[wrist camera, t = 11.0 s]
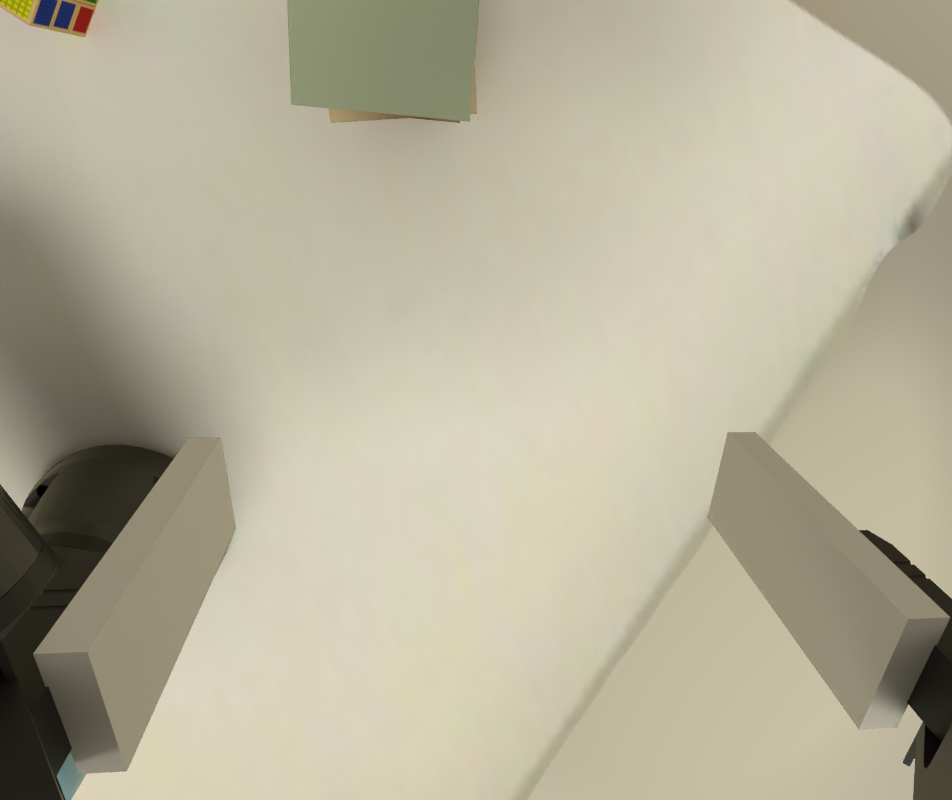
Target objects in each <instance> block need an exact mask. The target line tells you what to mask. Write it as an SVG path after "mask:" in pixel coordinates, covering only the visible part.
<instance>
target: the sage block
mask: <svg viewBox="0 0 952 800" xmlns="http://www.w3.org/2000/svg"><path fill="white" fill-rule="evenodd" d="M287 2H288V28H289V54H290V81H291V104H292V105H302V106H312V107H323V108H333V109H344V110H354V111H365V112H375V113H386V114H396V115H406V116H417V117H427V118H438V119H448V120H459V121H469V122H470V110H471V96H472V83H473V70H474V57H475V43H476V30H477V17H478V3H479V0H287Z"/></svg>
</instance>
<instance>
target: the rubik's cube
mask: <svg viewBox="0 0 952 800" xmlns="http://www.w3.org/2000/svg"><path fill="white" fill-rule="evenodd" d="M97 3H98V0H0V7H2V8H3V9H5V10H6V11H8V12H9V13H11V14H13V15H14V16H16V17H17V18H19V19H20V20H22V21H24V22H25V23H27V24H28V25H31V26H35V27H40V28H45V29H50V30H54V31H58V32H63V33H68V34H72V35H77V36H82V37H85V35H86V33H87V30H88V27H89V25H90V22H91V19H92V16H93V14H94V11H95V7H96V5H97Z"/></svg>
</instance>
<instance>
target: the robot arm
mask: <svg viewBox="0 0 952 800" xmlns="http://www.w3.org/2000/svg"><path fill="white" fill-rule="evenodd" d="M708 519H709V520H710V521H711V523H712V524H713V526H714V527H715V528H716V530H717V531H718V533H719V534H720V535H721V537H722V538H723V540H724V541H725V542H726V544H727V545H728V547H729V548H730V549H731V551H732V552H733V553H734V555H735V556H736V558H737V559H738V561H739V562H740V563H741V565H742V566H743V568H744V569H745V570H746V572H747V573H748V575H749V576H750V577H751V579H752V580H753V582H754V583H755V584H756V586H757V587H758V589H759V590H760V591H761V593H762V594H763V596H764V597H765V598H766V600H767V601H768V603H769V604H770V605H771V607H772V608H773V610H774V611H775V612H776V614H777V615H778V617H779V618H780V619H781V621H782V622H783V624H784V625H785V626H786V628H787V629H788V631H789V632H790V633H791V635H792V636H793V638H794V639H795V640H796V642H797V643H798V645H799V646H800V648H801V649H802V650H803V652H804V653H805V654H806V656H807V657H808V659H809V660H810V661H811V663H812V664H813V666H814V667H815V668H816V670H817V671H818V673H819V674H820V675H821V677H822V678H823V680H824V681H825V682H826V684H827V685H828V686H829V688H830V689H831V691H832V692H833V694H834V695H835V697H836V698H837V699H838V701H839V702H840V704H841V705H842V706H843V708H844V709H845V711H846V712H847V713H848V715H849V716H850V718H851V719H852V720H853V722H854V723H855V724H856V726H857V727H858V729H875V728H894V727H897V726H898V725H899V722H900V720H901V718H902V716H903V714H904V712H905V710H906V708H907V706H908V704H909V705H910V706H911V707H912V709H913V710H914V711H915V712H916V714H917V715H918V716H919V717H920V718H921V720H922V721H923V723H922V725H921V727H920V729H919V731H918V733H917V735H916V737H915V738H914V740H913V742H912V744H911V746H910V748H909V750H908V752H907V754H906V756H905V759H904V761H903V763H904V764H906V765H908V766H910V765H911V763H912V761H913V759H914V758H915V774H914V794H913V800H952V599H951V598H950V597H949V596H948V595H947V594H946V593H944V592H943V591H942V590H941V589H940V588H939V587H938V586H937V585H936V584H935V583H934V582H932V581H931V580H930V579H926V577H925V574H924V573H923V572H922V571H920V570H919V569H918V568H917V567H916V566H915V565H911V564H910V561H909V560H908V559H907V558H906V557H905V556H904V555H903V554H902V553H901V552H900V551H898V550H897V549H896V548H895V547H894V546H893V545H892V544H890V543H888V542H887V541H885V540H883V539H882V538H880V537H878V536H876V535H875V534H873V533H871V532H870V531H868V530H858V529H857V528H856V527H854V526H853V525H852V524H851V523H850V522H849V521H848V520H847V519H846V518H845V517H844V516H843V515H842V514H841V513H840V512H839V511H838V510H837V509H835V507H833V506H832V505H831V504H830V503H829V502H828V501H827V500H826V499H825V498H824V497H823V496H822V495H821V494H820V493H819V492H818V491H817V490H816V489H814V488H813V487H812V486H811V485H810V484H809V483H808V482H807V481H806V480H805V479H804V478H803V477H802V476H801V475H800V474H799V473H797V471H795V470H794V469H793V468H792V467H791V466H790V465H789V464H788V463H787V462H786V461H785V460H784V459H783V458H782V457H781V456H780V455H779V454H778V453H776V452H775V451H774V450H773V449H772V448H771V447H770V446H769V445H768V444H767V443H766V442H765V441H764V440H763V439H762V438H761V437H760V436H759V435H757V434H756V433H755V432H729V433H727V438H726V442H725V446H724V450H723V455H722V459H721V463H720V467H719V471H718V476H717V480H716V484H715V488H714V493H713V497H712V501H711V505H710V509H709V514H708ZM235 529H236V527H235V521H234V515H233V509H232V503H231V497H230V491H229V485H228V479H227V473H226V467H225V461H224V455H223V449H222V443H221V438H188V440H187V441H186V443H185V444H184V445H183V447H182V448H181V449H180V451H179V452H178V454H177V455H176V456H175V458H174V459H172V458H169V457H167V456H165V455H162V454H160V453H157V452H154V451H150V450H146V449H142V448H137V447H130V446H102V447H95V448H90V449H86V450H83V451H80V452H77V453H75V454H73V455H71V456H69V457H67V458H65V459H64V460H62V461H61V462H59V463H58V464H57V465H55V466H54V467H53V468H52V469H51V470H50V471H49V472H48V473H47V474H46V475H45V476H44V477H43V478H42V479H41V480H40V481H39V482H38V483H37V484H36V485H35V486H34V488H33V489H32V490H31V492H30V493H29V495H28V497H27V498H26V501H25V503H24V506H23V508H22V510H20V509H19V508H18V506H17V505H16V504H15V502H14V501H13V500H12V499H11V497H10V496H9V495H8V493H7V492H6V491H5V490H4V488H3V487H2V486H1V484H0V800H71V799H72V797H73V796H74V794H75V792H76V791H77V789H78V787H79V786H80V784H81V782H82V780H83V779H84V777H85V775H86V774H87V773H102V772H120V771H127V769H128V767H129V765H130V763H131V760H132V758H133V756H134V754H135V752H136V749H137V747H138V745H139V743H140V740H141V738H142V736H143V734H144V732H145V729H146V727H147V725H148V723H149V720H150V718H151V716H152V714H153V712H154V709H155V707H156V705H157V703H158V700H159V698H160V696H161V694H162V691H163V689H164V687H165V685H166V683H167V680H168V678H169V676H170V674H171V671H172V669H173V667H174V665H175V663H176V660H177V658H178V656H179V654H180V651H181V649H182V647H183V645H184V642H185V640H186V638H187V636H188V634H189V631H190V629H191V627H192V625H193V622H194V620H195V618H196V616H197V614H198V611H199V609H200V607H201V605H202V602H203V600H204V598H205V596H206V594H207V591H208V589H209V587H210V585H211V582H212V580H213V578H214V576H215V574H216V572H217V570H218V568H219V566H220V564H221V562H222V560H223V558H224V556H225V553H226V551H227V547H228V545H229V542H230V540H231V538H232V536H233V533H234V531H235Z"/></svg>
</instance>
